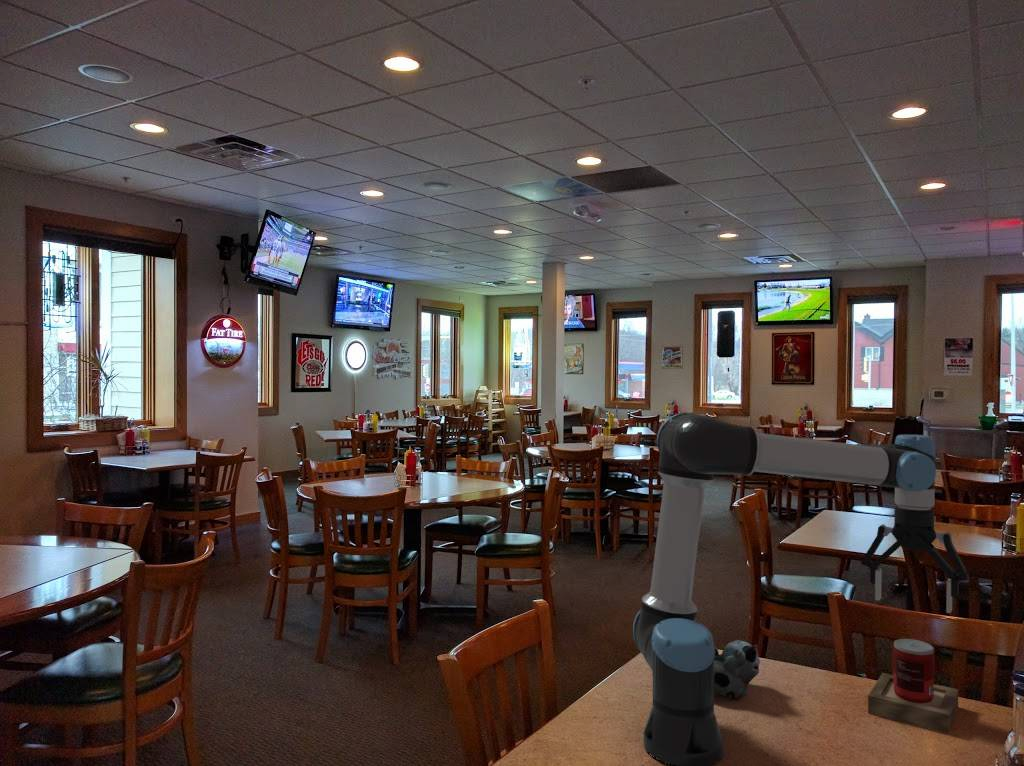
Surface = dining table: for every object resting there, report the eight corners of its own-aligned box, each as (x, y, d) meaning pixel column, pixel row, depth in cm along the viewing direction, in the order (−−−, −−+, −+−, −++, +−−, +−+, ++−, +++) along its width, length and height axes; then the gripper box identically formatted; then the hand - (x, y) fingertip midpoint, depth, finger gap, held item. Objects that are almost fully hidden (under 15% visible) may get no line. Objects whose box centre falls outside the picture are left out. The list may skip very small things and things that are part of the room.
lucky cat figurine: (701, 672, 179) (729, 622, 179) (746, 704, 172) (775, 652, 172) (683, 675, 167) (713, 622, 167) (731, 710, 160) (762, 654, 160)
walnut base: (868, 713, 158) (868, 695, 158) (882, 689, 170) (882, 672, 169) (949, 733, 149) (949, 715, 148) (958, 706, 160) (958, 689, 160)
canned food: (923, 688, 163) (923, 638, 162) (940, 704, 155) (941, 652, 154) (887, 687, 163) (887, 637, 163) (902, 703, 155) (902, 651, 155)
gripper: (984, 511, 154) (982, 612, 154) (855, 498, 169) (854, 590, 169) (981, 516, 148) (979, 621, 148) (847, 502, 163) (846, 597, 163)
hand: (912, 605), depth 159 cm, fingers open, 13 cm apart
